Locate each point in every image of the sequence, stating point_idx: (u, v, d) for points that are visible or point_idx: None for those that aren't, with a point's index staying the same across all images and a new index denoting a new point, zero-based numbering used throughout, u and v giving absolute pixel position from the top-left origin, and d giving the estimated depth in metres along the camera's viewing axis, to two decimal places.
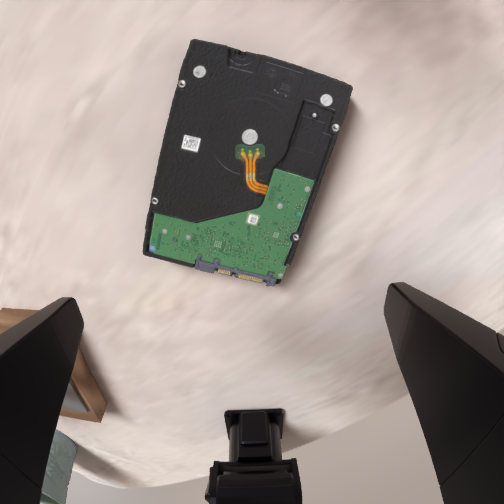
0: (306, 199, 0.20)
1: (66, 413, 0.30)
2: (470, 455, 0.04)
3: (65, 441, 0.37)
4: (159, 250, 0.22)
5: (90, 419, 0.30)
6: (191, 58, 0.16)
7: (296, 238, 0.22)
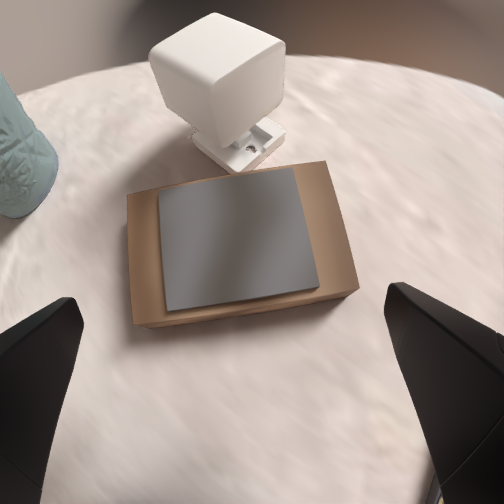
0: None
1: (138, 251, 0.20)
2: (470, 455, 0.04)
3: (29, 205, 0.24)
4: None
5: (137, 304, 0.19)
6: None
7: None
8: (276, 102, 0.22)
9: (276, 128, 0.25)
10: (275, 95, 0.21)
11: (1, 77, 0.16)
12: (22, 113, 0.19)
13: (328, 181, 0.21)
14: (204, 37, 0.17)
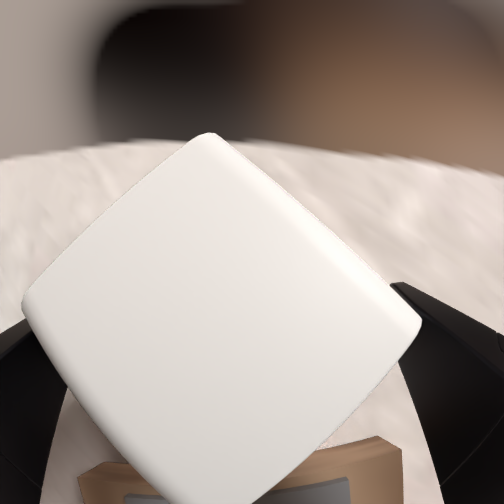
0: None
1: None
2: (471, 455, 0.04)
3: None
4: None
5: None
6: None
7: None
8: None
9: None
10: None
11: None
12: None
13: (398, 483, 0.10)
14: (163, 292, 0.06)
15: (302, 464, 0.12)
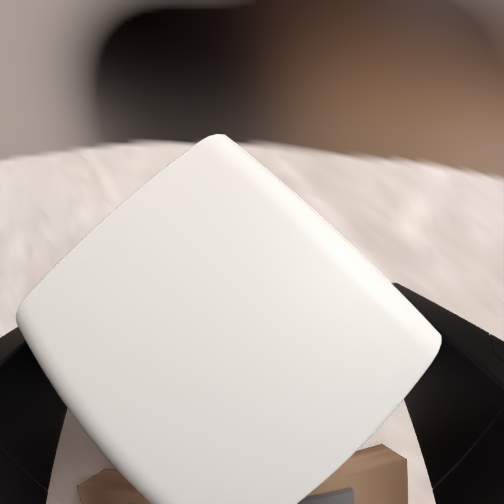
0: None
1: None
2: (462, 458, 0.04)
3: None
4: None
5: None
6: None
7: None
8: None
9: None
10: None
11: None
12: None
13: (402, 492, 0.09)
14: (170, 308, 0.05)
15: None
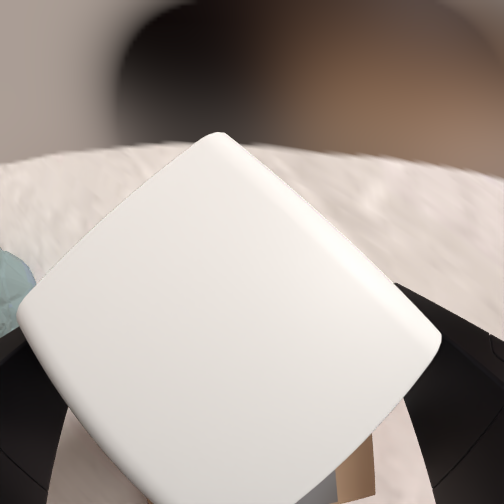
0: None
1: None
2: (462, 458, 0.04)
3: None
4: None
5: None
6: None
7: None
8: None
9: None
10: None
11: None
12: None
13: None
14: (171, 306, 0.05)
15: None
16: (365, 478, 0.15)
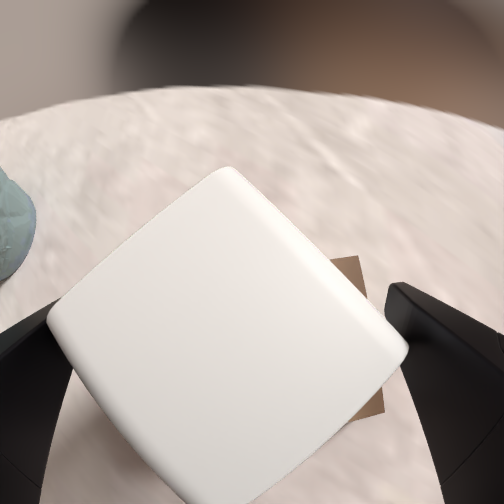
0: None
1: None
2: (471, 455, 0.04)
3: (4, 272, 0.20)
4: None
5: None
6: None
7: None
8: None
9: None
10: None
11: None
12: None
13: (360, 284, 0.17)
14: (184, 315, 0.06)
15: None
16: None
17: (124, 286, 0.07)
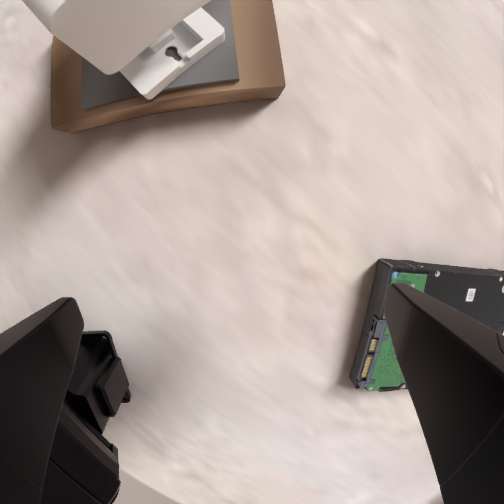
0: None
1: (61, 58, 0.15)
2: (470, 455, 0.04)
3: None
4: None
5: (56, 108, 0.15)
6: None
7: (401, 387, 0.22)
8: None
9: (211, 25, 0.14)
10: None
11: None
12: None
13: None
14: None
15: None
16: (271, 62, 0.16)
17: None
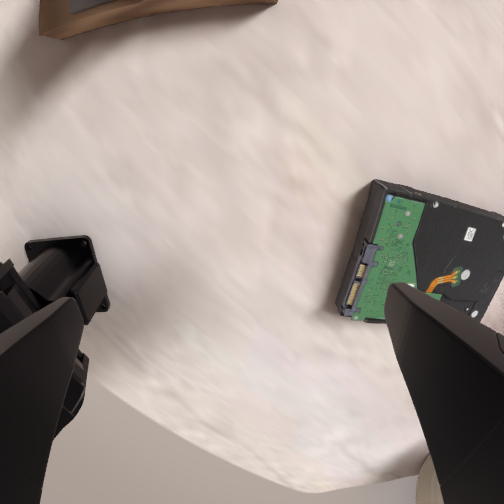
0: None
1: None
2: (470, 455, 0.04)
3: None
4: (389, 206, 0.19)
5: (44, 15, 0.12)
6: None
7: None
8: None
9: None
10: None
11: None
12: None
13: None
14: None
15: None
16: None
17: None
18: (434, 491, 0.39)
